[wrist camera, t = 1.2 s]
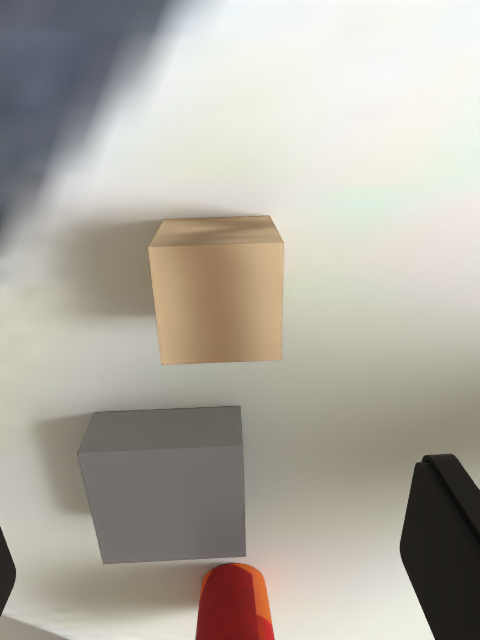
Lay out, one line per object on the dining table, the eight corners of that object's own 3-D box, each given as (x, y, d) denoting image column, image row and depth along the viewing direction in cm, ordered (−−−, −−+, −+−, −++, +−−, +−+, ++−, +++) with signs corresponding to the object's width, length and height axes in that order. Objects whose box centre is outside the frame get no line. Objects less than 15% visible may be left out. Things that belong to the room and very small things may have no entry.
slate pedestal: (240, 405, 30) (242, 445, 26) (243, 510, 34) (245, 556, 30) (94, 412, 30) (77, 453, 26) (115, 516, 34) (103, 564, 30)
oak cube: (269, 215, 25) (283, 242, 19) (269, 311, 27) (281, 359, 22) (164, 219, 24) (147, 247, 19) (173, 315, 27) (161, 364, 21)
